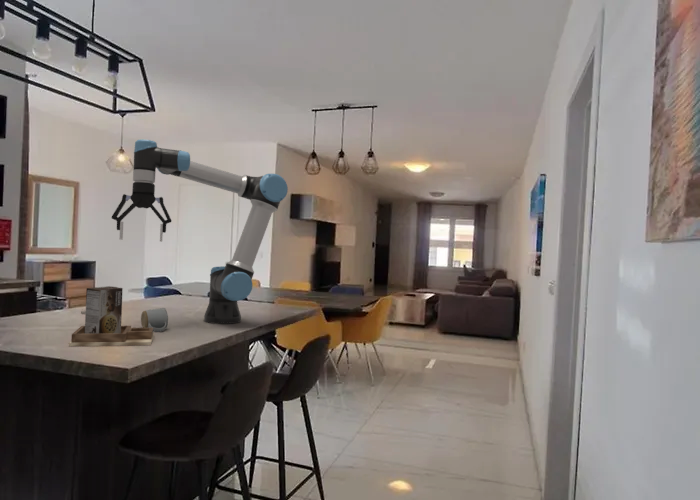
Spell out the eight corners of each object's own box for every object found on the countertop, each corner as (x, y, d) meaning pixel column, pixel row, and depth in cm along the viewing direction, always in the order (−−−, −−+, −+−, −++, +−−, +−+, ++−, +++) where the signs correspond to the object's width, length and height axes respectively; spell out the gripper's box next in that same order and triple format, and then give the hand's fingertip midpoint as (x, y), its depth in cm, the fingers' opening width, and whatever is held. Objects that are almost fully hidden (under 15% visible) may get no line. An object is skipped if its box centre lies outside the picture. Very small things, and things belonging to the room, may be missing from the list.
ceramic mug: (139, 327, 187) (140, 307, 187) (161, 326, 192) (162, 306, 192) (148, 333, 179) (149, 311, 179) (171, 331, 184) (172, 310, 184)
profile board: (153, 335, 174) (154, 325, 174) (150, 345, 158) (151, 334, 158) (79, 335, 167) (80, 325, 167) (68, 346, 151) (69, 334, 151)
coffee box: (106, 334, 167) (108, 286, 166) (121, 336, 164) (123, 287, 164) (83, 338, 158) (85, 287, 158) (98, 340, 156) (101, 289, 156)
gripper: (179, 186, 191) (177, 242, 191) (108, 180, 183) (105, 238, 183) (179, 184, 184) (177, 242, 184) (104, 178, 176) (102, 238, 176)
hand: (141, 240), depth 184 cm, fingers open, 13 cm apart
